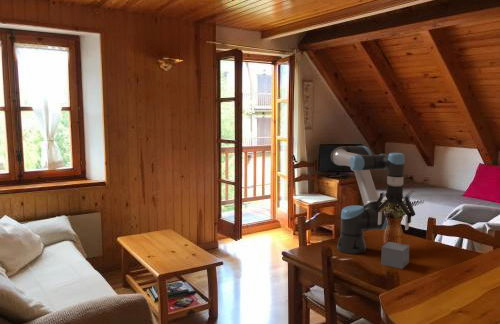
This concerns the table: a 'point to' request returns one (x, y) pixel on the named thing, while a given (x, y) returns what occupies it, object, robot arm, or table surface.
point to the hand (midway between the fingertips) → (392, 226)
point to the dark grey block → (395, 255)
